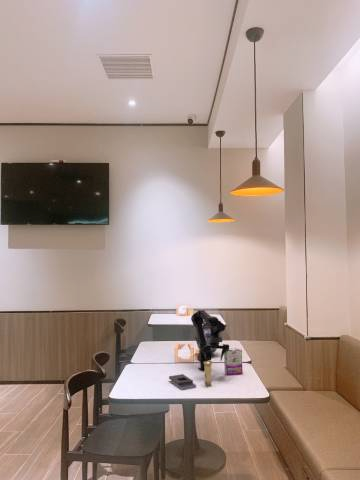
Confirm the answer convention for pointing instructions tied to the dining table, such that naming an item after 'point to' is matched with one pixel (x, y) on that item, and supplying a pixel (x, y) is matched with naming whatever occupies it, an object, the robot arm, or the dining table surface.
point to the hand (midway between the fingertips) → (213, 360)
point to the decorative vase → (206, 337)
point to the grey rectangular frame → (182, 382)
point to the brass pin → (207, 373)
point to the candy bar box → (233, 362)
